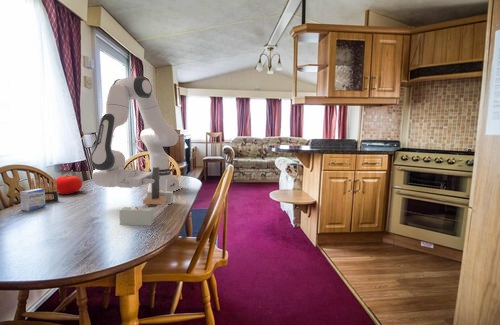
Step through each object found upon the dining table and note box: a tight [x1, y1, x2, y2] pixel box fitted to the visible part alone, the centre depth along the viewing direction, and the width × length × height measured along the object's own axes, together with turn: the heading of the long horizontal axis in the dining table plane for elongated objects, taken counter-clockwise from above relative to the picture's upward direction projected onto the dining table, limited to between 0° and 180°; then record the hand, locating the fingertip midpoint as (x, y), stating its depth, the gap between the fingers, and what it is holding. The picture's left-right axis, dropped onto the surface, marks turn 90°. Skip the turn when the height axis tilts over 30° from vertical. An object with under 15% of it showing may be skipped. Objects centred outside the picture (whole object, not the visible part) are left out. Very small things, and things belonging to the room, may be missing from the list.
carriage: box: [142, 167, 167, 205], centre depth 128 cm, size 8×9×17 cm
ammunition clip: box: [30, 177, 59, 203], centre depth 131 cm, size 11×2×12 cm, turn 120°
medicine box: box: [19, 188, 46, 212], centre depth 121 cm, size 8×4×9 cm, turn 168°
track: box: [119, 191, 174, 226], centre depth 121 cm, size 34×12×6 cm, turn 1°
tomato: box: [55, 174, 83, 195], centre depth 150 cm, size 14×13×10 cm
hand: (157, 179), depth 128 cm, fingers open, 7 cm apart
